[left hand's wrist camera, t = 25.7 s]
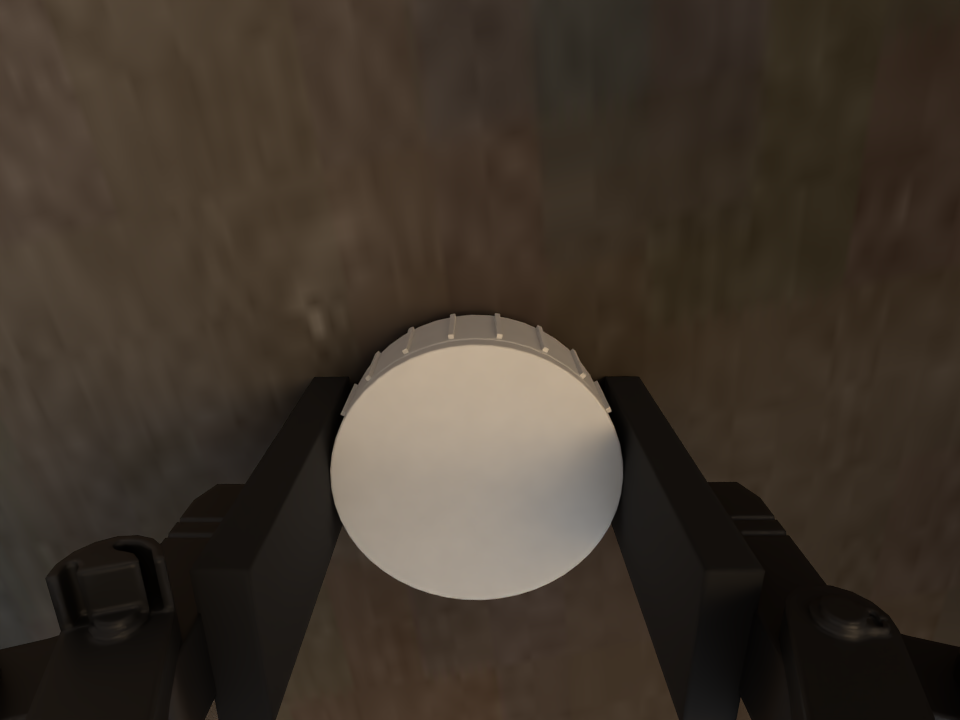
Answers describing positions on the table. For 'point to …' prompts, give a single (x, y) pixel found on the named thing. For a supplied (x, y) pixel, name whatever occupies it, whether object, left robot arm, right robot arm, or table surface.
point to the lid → (476, 459)
